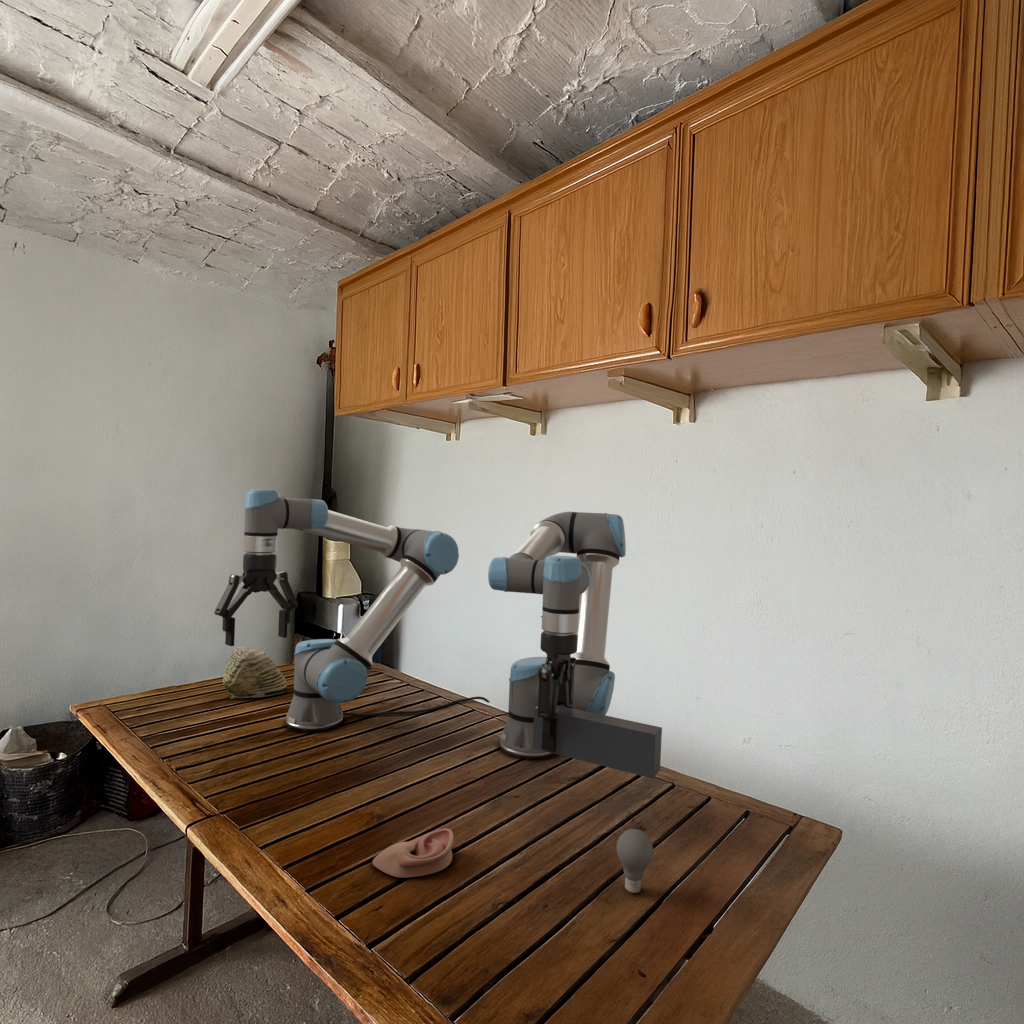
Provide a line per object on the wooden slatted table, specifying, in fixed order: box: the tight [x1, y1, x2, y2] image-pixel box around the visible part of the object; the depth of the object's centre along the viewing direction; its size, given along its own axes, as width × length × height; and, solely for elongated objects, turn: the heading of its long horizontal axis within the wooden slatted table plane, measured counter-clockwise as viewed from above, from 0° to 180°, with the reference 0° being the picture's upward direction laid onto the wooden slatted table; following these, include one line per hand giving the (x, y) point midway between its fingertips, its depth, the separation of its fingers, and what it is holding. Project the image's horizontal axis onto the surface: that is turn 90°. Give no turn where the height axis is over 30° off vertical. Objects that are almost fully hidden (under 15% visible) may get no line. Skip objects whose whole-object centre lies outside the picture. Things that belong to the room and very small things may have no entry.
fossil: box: [222, 646, 288, 699], centre depth 198 cm, size 9×18×15 cm, turn 132°
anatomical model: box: [372, 828, 455, 879], centre depth 112 cm, size 13×4×12 cm
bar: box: [532, 705, 663, 779], centre depth 125 cm, size 25×5×8 cm, turn 61°
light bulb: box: [615, 828, 654, 894], centre depth 106 cm, size 6×6×10 cm
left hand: (257, 641), depth 153 cm, fingers open, 13 cm apart
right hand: (554, 745), depth 129 cm, fingers closed on bar, 5 cm apart
